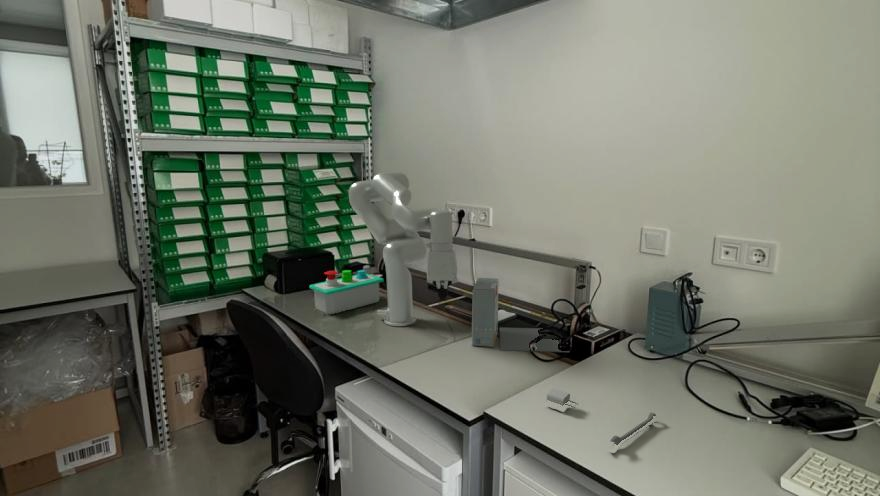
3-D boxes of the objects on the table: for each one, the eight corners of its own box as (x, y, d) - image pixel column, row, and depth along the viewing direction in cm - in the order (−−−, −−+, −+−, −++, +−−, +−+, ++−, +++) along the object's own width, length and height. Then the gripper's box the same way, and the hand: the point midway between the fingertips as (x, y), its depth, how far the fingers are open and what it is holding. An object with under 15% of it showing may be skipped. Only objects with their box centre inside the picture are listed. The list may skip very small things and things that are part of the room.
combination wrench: (652, 408, 111) (605, 438, 98) (658, 410, 110) (611, 441, 97) (651, 422, 111) (604, 454, 99) (656, 425, 110) (610, 457, 98)
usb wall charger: (553, 401, 120) (554, 387, 120) (579, 410, 116) (580, 395, 115) (546, 408, 117) (547, 393, 116) (572, 417, 113) (573, 402, 112)
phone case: (490, 328, 173) (518, 317, 183) (490, 324, 173) (518, 314, 183) (473, 322, 180) (501, 312, 190) (473, 318, 179) (501, 308, 190)
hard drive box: (494, 347, 154) (495, 289, 150) (471, 346, 156) (471, 288, 152) (498, 330, 169) (498, 277, 165) (477, 329, 171) (477, 276, 167)
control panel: (385, 265, 203) (324, 277, 183) (387, 301, 206) (327, 318, 186) (365, 259, 213) (305, 271, 193) (367, 294, 217) (308, 309, 196)
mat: (500, 350, 152) (500, 349, 152) (499, 328, 172) (499, 327, 172) (569, 352, 150) (569, 351, 150) (560, 329, 169) (560, 328, 169)
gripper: (418, 249, 155) (419, 302, 158) (463, 248, 153) (463, 302, 157) (421, 244, 162) (422, 295, 166) (464, 244, 161) (465, 296, 164)
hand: (442, 298), depth 161 cm, fingers closed
